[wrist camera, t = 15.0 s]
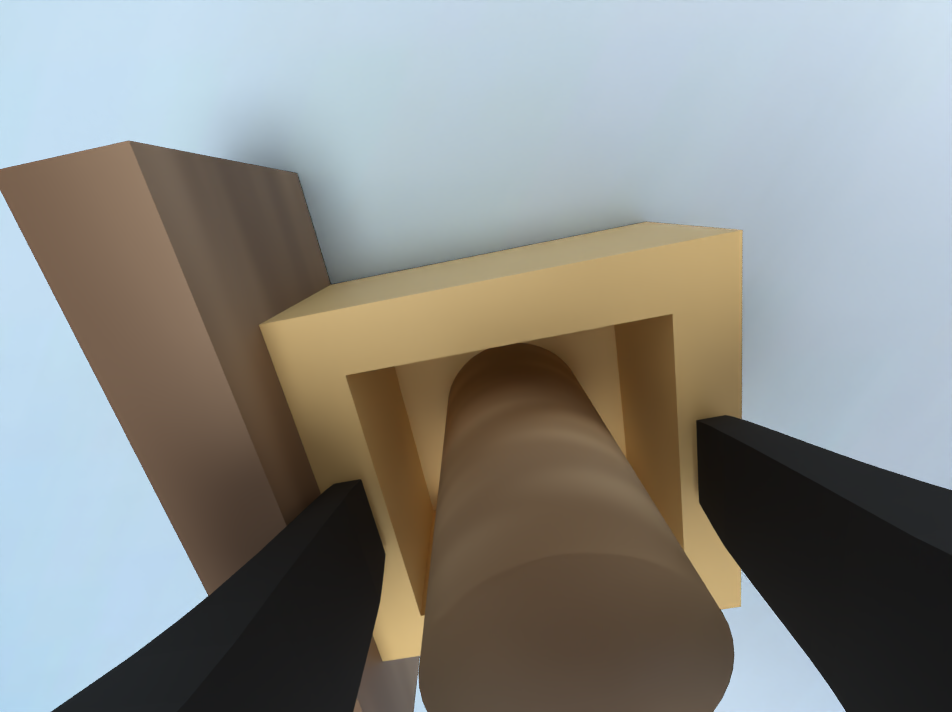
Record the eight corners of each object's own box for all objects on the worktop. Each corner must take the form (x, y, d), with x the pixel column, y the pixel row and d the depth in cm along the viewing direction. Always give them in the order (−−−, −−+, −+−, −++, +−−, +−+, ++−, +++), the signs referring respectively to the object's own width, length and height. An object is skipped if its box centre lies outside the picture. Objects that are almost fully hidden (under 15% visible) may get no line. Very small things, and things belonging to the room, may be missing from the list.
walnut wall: (297, 173, 12) (128, 140, 6) (426, 599, 16) (402, 808, 11) (225, 188, 12) (-10, 171, 6) (374, 607, 16) (323, 819, 11)
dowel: (572, 330, 12) (733, 526, 5) (587, 451, 14) (734, 755, 6) (434, 357, 13) (382, 583, 5) (462, 473, 14) (453, 794, 6)
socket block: (645, 221, 12) (742, 229, 8) (663, 492, 15) (740, 606, 11) (330, 284, 12) (258, 324, 8) (406, 535, 15) (382, 661, 11)
